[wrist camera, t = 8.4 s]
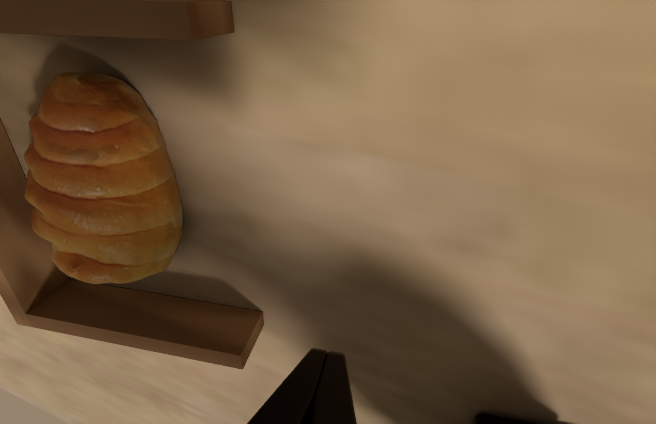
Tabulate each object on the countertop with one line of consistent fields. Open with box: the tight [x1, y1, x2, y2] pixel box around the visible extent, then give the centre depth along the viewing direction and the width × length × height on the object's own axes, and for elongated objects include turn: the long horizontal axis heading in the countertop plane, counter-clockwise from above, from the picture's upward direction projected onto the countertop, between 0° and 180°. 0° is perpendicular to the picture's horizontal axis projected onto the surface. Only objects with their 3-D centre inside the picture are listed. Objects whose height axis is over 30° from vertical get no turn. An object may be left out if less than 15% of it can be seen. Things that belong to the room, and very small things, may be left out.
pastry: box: [24, 72, 183, 284], centre depth 17 cm, size 9×7×4 cm
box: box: [0, 0, 264, 369], centre depth 17 cm, size 16×14×3 cm
